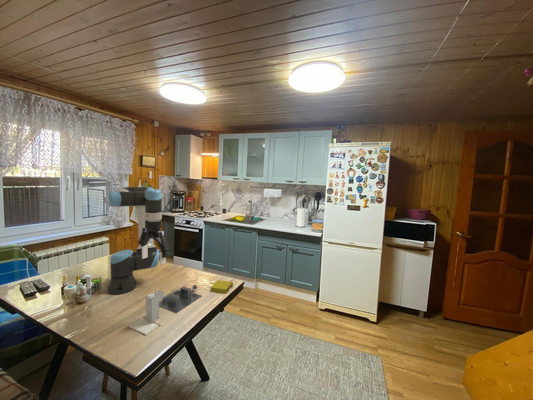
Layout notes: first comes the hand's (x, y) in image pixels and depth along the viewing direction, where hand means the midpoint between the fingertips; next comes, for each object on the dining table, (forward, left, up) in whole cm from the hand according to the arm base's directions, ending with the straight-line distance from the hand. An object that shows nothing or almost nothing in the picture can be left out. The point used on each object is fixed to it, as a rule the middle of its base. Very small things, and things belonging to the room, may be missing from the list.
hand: (153, 260), depth 116 cm
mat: (+6, -6, -27) cm, 29 cm away
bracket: (+15, +36, -28) cm, 48 cm away
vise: (+4, +15, -27) cm, 31 cm away
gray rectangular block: (+6, -4, -27) cm, 28 cm away
